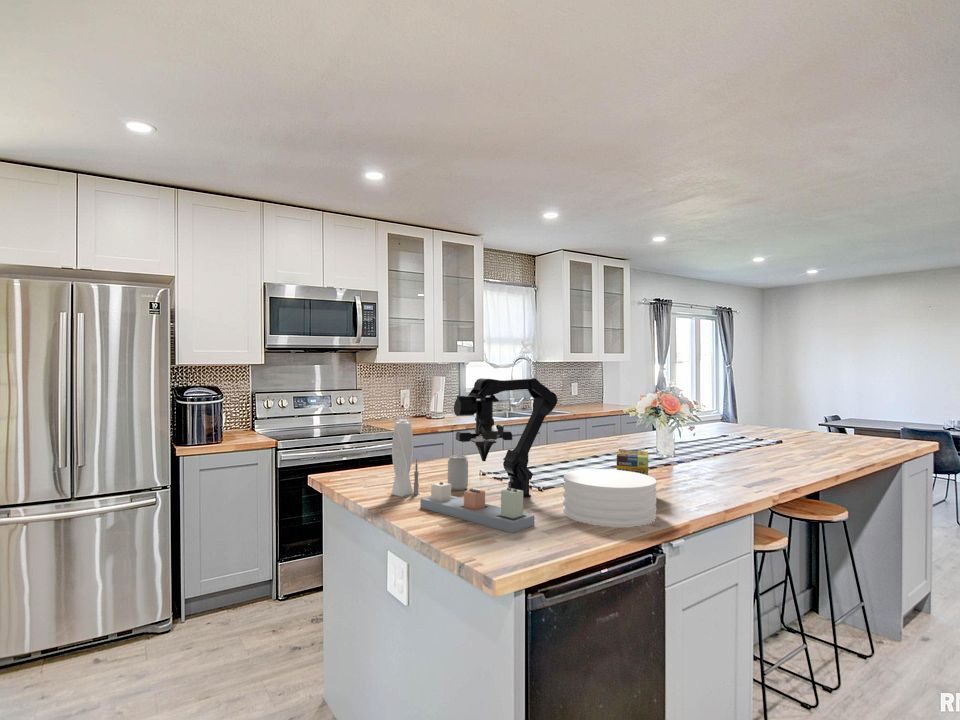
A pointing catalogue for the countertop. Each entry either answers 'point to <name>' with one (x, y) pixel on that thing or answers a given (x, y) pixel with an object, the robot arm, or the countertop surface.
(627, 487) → the plate stack
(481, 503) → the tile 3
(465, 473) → the can
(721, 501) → the countertop surface
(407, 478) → the skyscraper
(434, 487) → the cream block
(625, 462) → the protein box
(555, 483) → the countertop surface
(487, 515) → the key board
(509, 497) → the green block
